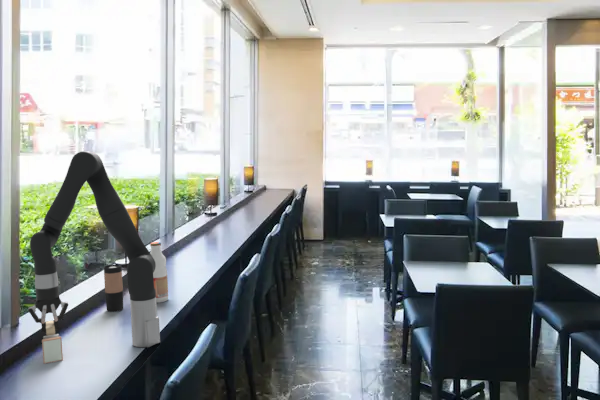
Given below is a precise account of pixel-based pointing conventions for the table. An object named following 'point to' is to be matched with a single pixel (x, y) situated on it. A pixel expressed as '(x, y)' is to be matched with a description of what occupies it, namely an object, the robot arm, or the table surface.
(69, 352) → the table surface
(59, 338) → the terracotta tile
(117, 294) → the travel mug
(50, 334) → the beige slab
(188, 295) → the table surface
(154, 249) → the fruit juice
